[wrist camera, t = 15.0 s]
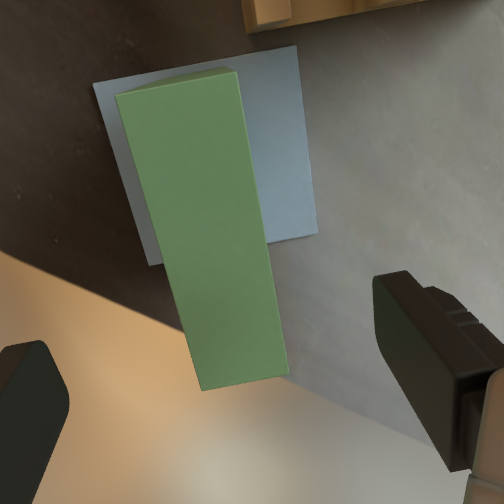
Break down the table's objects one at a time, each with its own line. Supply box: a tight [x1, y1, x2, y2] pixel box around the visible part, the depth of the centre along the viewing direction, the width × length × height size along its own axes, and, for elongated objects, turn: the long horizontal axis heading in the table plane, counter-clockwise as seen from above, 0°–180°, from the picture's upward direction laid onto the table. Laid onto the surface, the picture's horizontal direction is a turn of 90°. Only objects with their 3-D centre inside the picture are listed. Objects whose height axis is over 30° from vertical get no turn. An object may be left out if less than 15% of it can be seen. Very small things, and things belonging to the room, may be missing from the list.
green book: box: [114, 66, 289, 391], centre depth 20 cm, size 4×11×14 cm, turn 10°
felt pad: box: [93, 45, 318, 266], centre depth 27 cm, size 12×12×1 cm
